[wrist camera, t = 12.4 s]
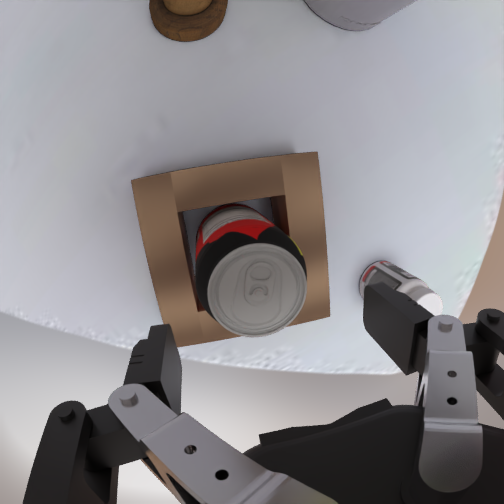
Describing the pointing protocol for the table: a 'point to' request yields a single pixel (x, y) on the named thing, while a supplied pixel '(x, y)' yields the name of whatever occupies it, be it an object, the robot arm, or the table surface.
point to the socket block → (222, 192)
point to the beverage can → (248, 272)
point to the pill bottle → (402, 285)
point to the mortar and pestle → (187, 17)
